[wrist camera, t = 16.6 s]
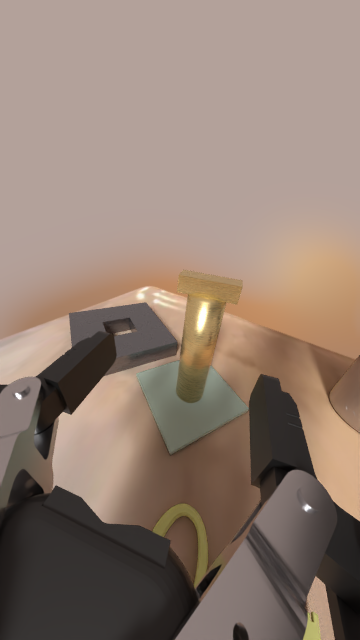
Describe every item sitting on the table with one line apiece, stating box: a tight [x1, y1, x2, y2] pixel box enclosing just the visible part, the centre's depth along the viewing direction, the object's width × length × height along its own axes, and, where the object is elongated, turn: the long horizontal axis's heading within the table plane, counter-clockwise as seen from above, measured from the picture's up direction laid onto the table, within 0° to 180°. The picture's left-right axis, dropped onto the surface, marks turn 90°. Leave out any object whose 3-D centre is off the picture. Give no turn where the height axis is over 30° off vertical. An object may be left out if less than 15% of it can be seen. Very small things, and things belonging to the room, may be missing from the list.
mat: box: [137, 360, 249, 455], centre depth 27 cm, size 12×12×1 cm
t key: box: [176, 270, 242, 403], centre depth 22 cm, size 6×4×17 cm, turn 74°
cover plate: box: [69, 303, 177, 376], centre depth 35 cm, size 16×16×3 cm
